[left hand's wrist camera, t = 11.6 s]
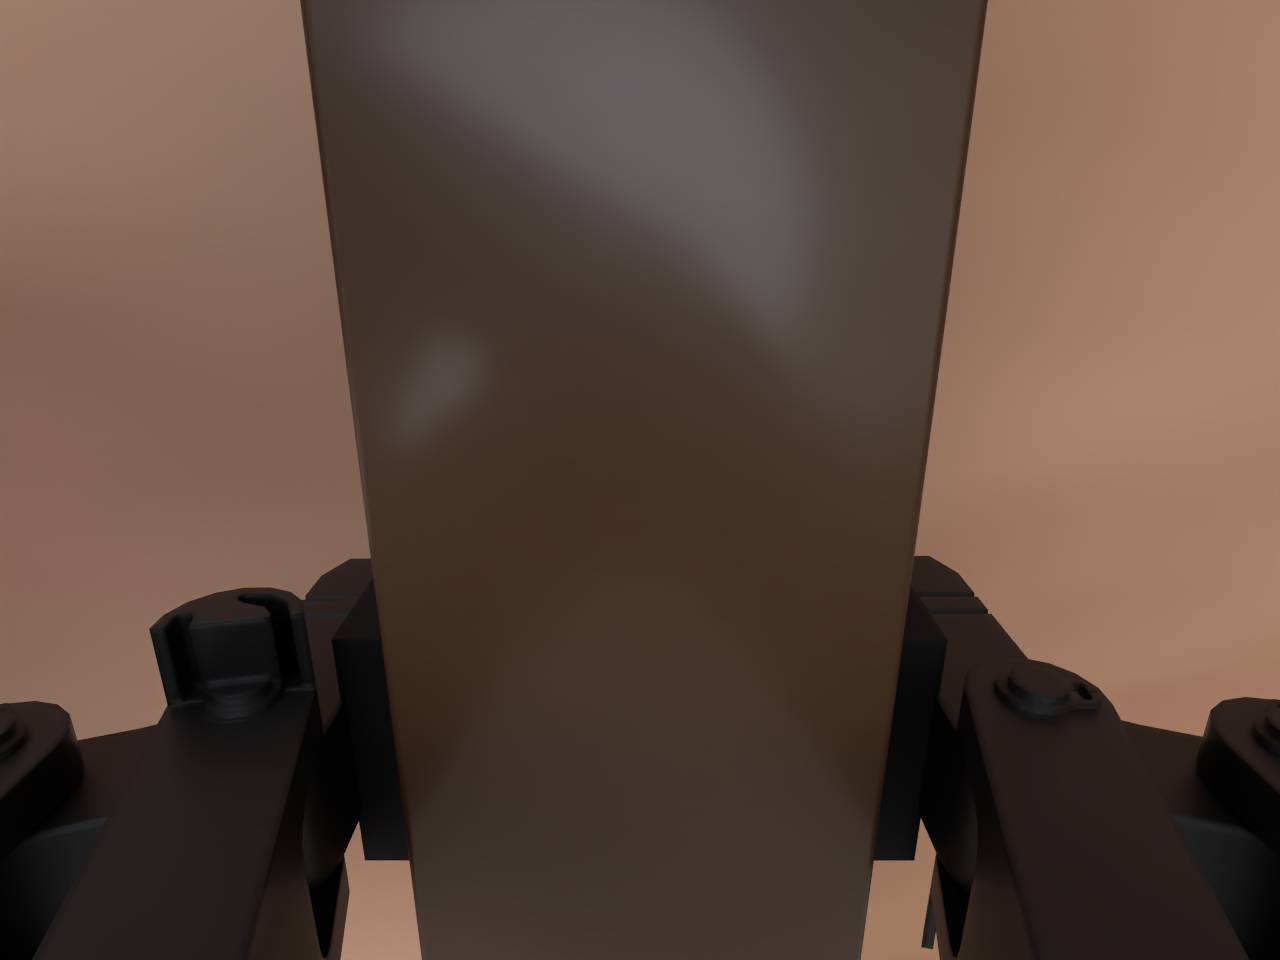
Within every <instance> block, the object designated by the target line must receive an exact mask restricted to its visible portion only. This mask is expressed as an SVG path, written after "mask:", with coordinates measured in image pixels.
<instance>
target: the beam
mask: <svg viewBox="0 0 1280 960" xmlns="http://www.w3.org/2000/svg"><path fill="white" fill-rule="evenodd" d="M987 3H988V0H300V4H301V12H302V20H303V27H304V35H305V43H306V51H307V59H308V67H309V75H310V83H311V90H312V98H313V106H314V114H315V122H316V130H317V138H318V145H319V153H320V161H321V169H322V177H323V185H324V193H325V201H326V208H327V216H328V224H329V232H330V240H331V248H332V256H333V263H334V271H335V279H336V287H337V295H338V303H339V311H340V319H341V326H342V334H343V342H344V350H345V358H346V366H347V374H348V381H349V389H350V397H351V405H352V413H353V421H354V429H355V437H356V444H357V452H358V460H359V468H360V476H361V484H362V492H363V500H364V507H365V515H366V523H367V531H368V539H369V547H370V555H371V562H372V570H373V578H374V586H375V594H376V602H377V610H378V618H379V625H380V633H381V641H382V649H383V657H384V665H385V673H386V680H387V688H388V696H389V704H390V712H391V720H392V728H393V736H394V743H395V751H396V759H397V767H398V775H399V783H400V791H401V798H402V806H403V814H404V822H405V830H406V838H407V846H408V854H409V861H410V869H411V877H412V885H413V893H414V901H415V909H416V917H417V924H418V932H419V940H420V948H421V956H422V960H861V952H862V945H863V937H864V930H865V922H866V915H867V907H868V899H869V892H870V884H871V877H872V869H873V862H874V854H875V847H876V839H877V832H878V824H879V817H880V809H881V802H882V794H883V786H884V779H885V771H886V764H887V756H888V749H889V741H890V734H891V726H892V719H893V711H894V704H895V696H896V689H897V681H898V673H899V666H900V658H901V651H902V643H903V636H904V628H905V621H906V613H907V606H908V598H909V591H910V583H911V576H912V568H913V560H914V553H915V545H916V538H917V530H918V523H919V515H920V508H921V500H922V493H923V485H924V478H925V470H926V462H927V455H928V447H929V440H930V432H931V425H932V417H933V410H934V402H935V395H936V387H937V380H938V372H939V365H940V357H941V349H942V342H943V334H944V327H945V319H946V312H947V304H948V297H949V289H950V282H951V274H952V267H953V259H954V252H955V244H956V236H957V229H958V221H959V214H960V206H961V199H962V191H963V184H964V176H965V169H966V161H967V154H968V146H969V139H970V131H971V123H972V116H973V108H974V101H975V93H976V86H977V78H978V71H979V63H980V56H981V48H982V41H983V33H984V25H985V18H986V10H987Z"/></svg>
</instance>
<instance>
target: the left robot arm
mask: <svg viewBox="0 0 1280 960" xmlns="http://www.w3.org/2000/svg"><path fill="white" fill-rule="evenodd" d="M150 634H151V638H152V642H153V646H154V650H155V654H156V658H157V662H158V667H159V671H160V675H161V679H162V683H163V687H164V691H165V695H166V700H167V704H168V706H167V708H166V710H165V711H164V713H163V715H162V717H161V719H160V721H159V723H158V724H157V725H153V726H149V727H145V728H141V729H135V730H130V731H125V732H120V733H115V734H109V735H104V736H99V737H94V738H88V739H83V740H78V741H77V738H76V735H75V731H74V728H73V724H72V721H71V718H70V714H69V713H67V712H66V711H65V710H64V709H62V708H61V707H60V706H59V705H57V704H50V703H44V702H38V701H31V702H21V703H10V704H9V703H4V704H0V960H340V958H341V951H342V943H343V936H344V929H345V921H346V914H347V907H348V900H349V884H348V876H347V870H346V864H345V858H344V853H345V851H346V849H347V846H348V844H349V842H350V840H351V837H352V835H353V833H354V830H355V828H356V826H357V824H358V821H359V823H360V830H361V836H362V843H363V849H364V856H365V860H409V854H408V846H407V838H406V830H405V822H404V814H403V806H402V798H401V791H400V783H399V775H398V767H397V759H396V751H395V743H394V736H393V728H392V720H391V712H390V704H389V696H388V688H387V680H386V673H385V665H384V657H383V649H382V641H381V633H380V625H379V618H378V610H377V602H376V594H375V586H374V578H373V570H372V562H371V559H349V560H348V561H346V562H344V563H342V564H341V565H339V566H337V567H336V568H334V569H332V570H331V571H329V572H327V573H326V574H324V575H322V576H321V577H320V579H319V580H318V581H317V582H316V584H315V585H314V586H313V587H312V588H311V590H310V591H309V592H308V593H307V595H306V598H305V600H301V599H299V598H298V597H297V596H295V595H294V594H292V593H291V592H288V591H283V590H279V589H274V588H241V589H235V590H230V591H224V592H218V593H214V594H211V595H208V596H205V597H202V598H199V599H196V600H193V601H190V602H187V603H185V604H183V605H181V606H180V607H178V608H176V609H174V610H172V611H170V612H168V613H167V614H165V615H164V616H162V617H161V618H160V619H159V620H158V621H157V622H156V623H155V624H154V625H153V626H152V627H151V628H150ZM920 819H922V821H923V823H924V826H925V828H926V830H927V832H928V835H929V837H930V839H931V841H932V844H933V846H934V848H935V851H936V858H935V864H934V870H933V876H932V882H931V888H930V894H929V900H928V906H927V913H926V919H925V925H924V931H923V939H922V947H924V948H929V949H933V945H934V939H935V933H936V934H937V941H938V949H939V956H940V960H1280V700H1277V699H1271V700H1270V699H1260V698H1249V697H1243V698H1236V699H1230V700H1223V701H1222V702H1220V703H1219V704H1218V705H1217V706H1215V707H1214V708H1213V709H1212V710H1211V711H1210V715H1209V718H1208V721H1207V725H1206V728H1205V732H1204V735H1203V737H1201V736H1196V735H1190V734H1185V733H1180V732H1175V731H1169V730H1164V729H1159V728H1154V727H1148V726H1143V725H1138V724H1134V723H1130V722H1126V721H1122V720H1121V719H1120V717H1119V716H1118V714H1117V712H1116V710H1115V708H1114V706H1113V704H1112V703H1111V702H1110V701H1109V700H1108V699H1107V697H1106V696H1105V695H1104V694H1103V693H1102V692H1101V690H1100V689H1099V688H1097V687H1096V686H1094V685H1093V684H1091V683H1090V682H1088V681H1087V680H1085V679H1083V678H1082V677H1080V676H1079V675H1077V674H1075V673H1073V672H1070V671H1067V670H1065V669H1062V668H1060V667H1057V666H1055V665H1052V664H1049V663H1044V662H1040V661H1035V660H1030V659H1028V658H1027V657H1026V656H1025V655H1024V653H1023V652H1022V651H1021V650H1020V649H1019V647H1018V646H1017V645H1016V644H1015V642H1014V641H1013V640H1012V639H1011V637H1010V636H1009V635H1008V634H1007V633H1006V631H1005V630H1004V629H1003V628H1002V626H1001V625H1000V624H999V623H998V622H997V620H996V619H995V618H994V617H993V615H992V614H988V609H987V608H986V607H985V606H984V604H983V603H982V602H981V601H980V599H979V598H978V597H974V592H973V591H972V590H971V588H970V587H969V586H968V585H967V584H966V582H965V581H964V580H963V579H962V577H961V576H960V575H959V574H958V573H957V572H955V571H954V570H952V569H950V568H948V567H947V566H945V565H943V564H942V563H940V562H938V561H937V560H935V559H933V558H932V557H930V556H914V560H913V568H912V576H911V583H910V591H909V598H908V606H907V613H906V621H905V628H904V636H903V643H902V651H901V658H900V666H899V673H898V681H897V689H896V696H895V704H894V711H893V719H892V726H891V734H890V741H889V749H888V756H887V764H886V771H885V779H884V786H883V794H882V802H881V809H880V817H879V824H878V832H877V839H876V847H875V854H874V860H914V858H915V852H916V845H917V838H918V832H919V825H920Z"/></svg>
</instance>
